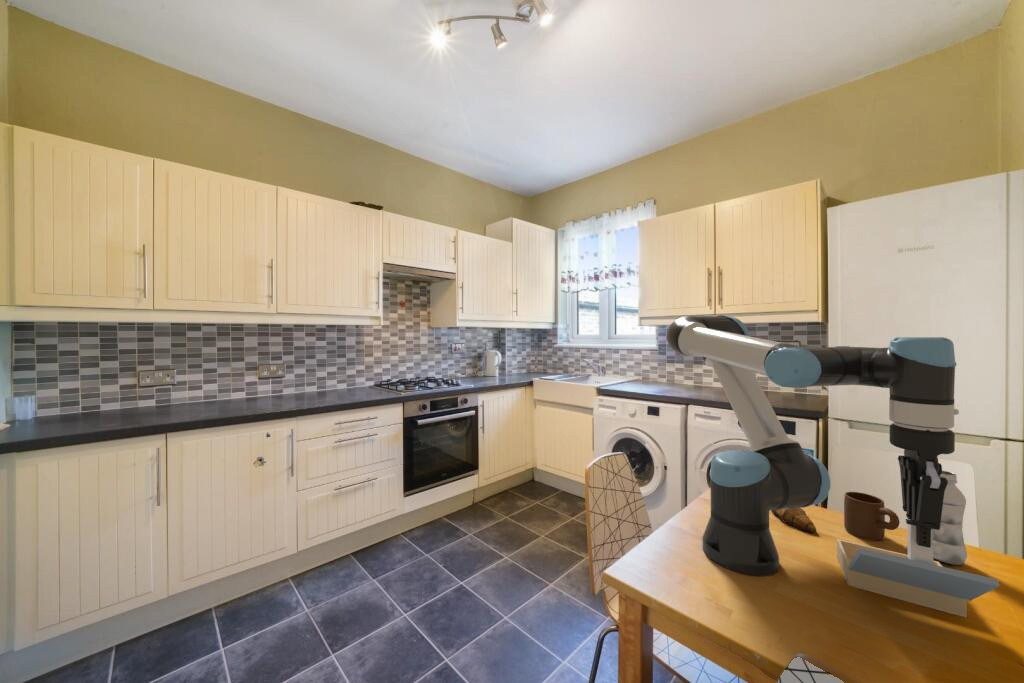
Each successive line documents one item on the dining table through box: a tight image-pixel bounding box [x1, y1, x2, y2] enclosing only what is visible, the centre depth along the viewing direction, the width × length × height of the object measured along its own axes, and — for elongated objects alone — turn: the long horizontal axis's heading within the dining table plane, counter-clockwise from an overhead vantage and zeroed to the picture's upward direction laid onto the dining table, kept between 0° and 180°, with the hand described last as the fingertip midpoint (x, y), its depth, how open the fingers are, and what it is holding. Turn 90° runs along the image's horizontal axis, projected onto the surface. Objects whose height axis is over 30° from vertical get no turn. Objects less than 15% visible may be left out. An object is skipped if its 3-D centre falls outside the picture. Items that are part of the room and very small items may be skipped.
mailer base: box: [836, 538, 968, 619], centre depth 75 cm, size 16×12×4 cm
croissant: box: [770, 507, 817, 534], centre depth 101 cm, size 14×7×5 cm, turn 6°
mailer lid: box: [849, 548, 1000, 601], centre depth 66 cm, size 16×12×1 cm
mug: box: [843, 491, 900, 542], centre depth 92 cm, size 12×8×9 cm, turn 2°
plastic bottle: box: [933, 470, 968, 566], centre depth 83 cm, size 6×7×20 cm
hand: (920, 561), depth 64 cm, fingers closed
